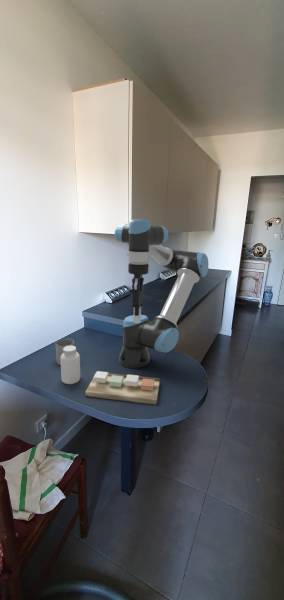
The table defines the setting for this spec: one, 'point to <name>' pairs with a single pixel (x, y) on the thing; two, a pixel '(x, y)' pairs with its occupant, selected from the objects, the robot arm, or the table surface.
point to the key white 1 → (100, 377)
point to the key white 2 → (132, 380)
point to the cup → (59, 348)
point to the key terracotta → (147, 384)
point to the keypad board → (124, 390)
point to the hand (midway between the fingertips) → (137, 322)
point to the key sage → (116, 381)
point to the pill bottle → (70, 365)
